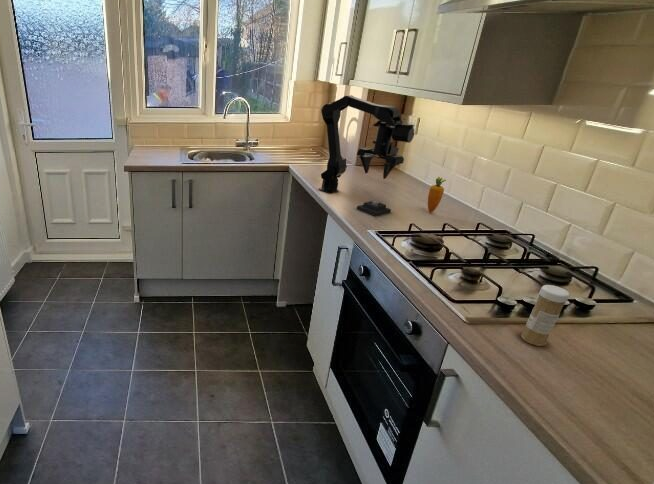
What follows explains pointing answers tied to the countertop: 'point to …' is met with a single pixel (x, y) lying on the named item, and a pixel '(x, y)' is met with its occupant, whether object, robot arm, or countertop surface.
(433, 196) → the carrot
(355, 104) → the robot arm
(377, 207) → the small pad
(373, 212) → the base pad
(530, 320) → the sprinkles bottle
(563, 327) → the countertop surface
